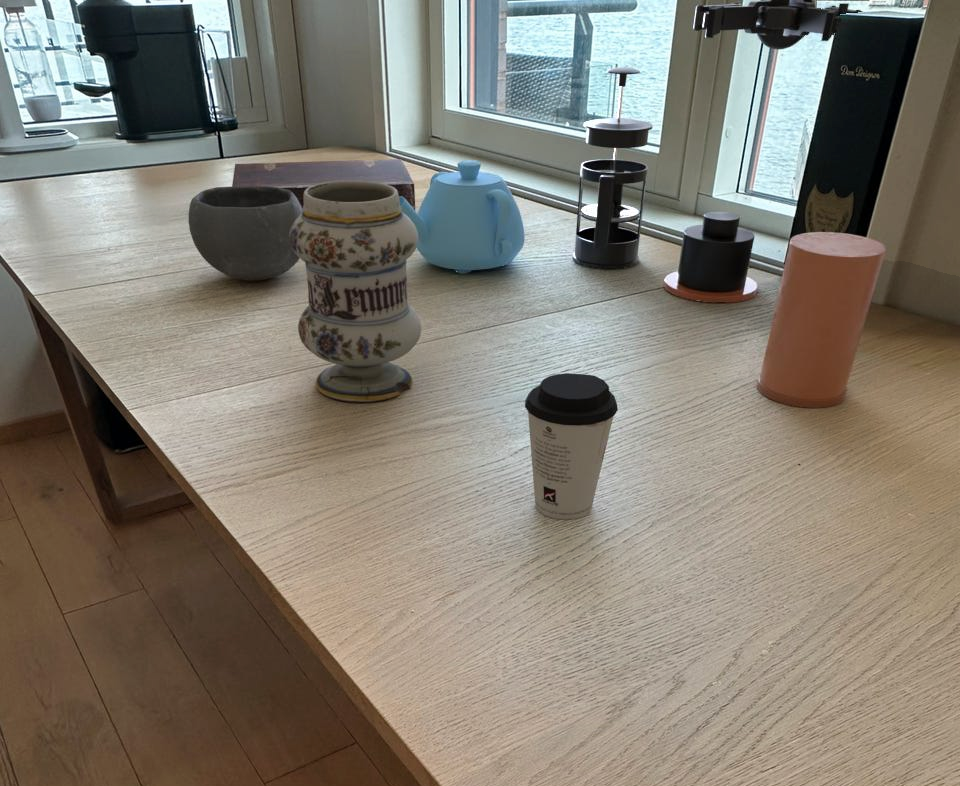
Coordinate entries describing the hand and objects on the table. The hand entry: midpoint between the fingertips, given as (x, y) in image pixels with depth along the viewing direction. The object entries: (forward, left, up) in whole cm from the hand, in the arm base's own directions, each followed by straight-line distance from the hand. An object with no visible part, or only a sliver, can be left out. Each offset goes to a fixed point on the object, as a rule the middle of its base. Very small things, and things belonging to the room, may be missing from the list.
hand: (767, 24), depth 102 cm
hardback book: (+69, -12, -28) cm, 76 cm away
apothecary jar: (+28, +54, -28) cm, 67 cm away
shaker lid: (+1, +9, -27) cm, 29 cm away
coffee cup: (+2, +70, -28) cm, 76 cm away
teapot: (+35, +12, -28) cm, 47 cm away
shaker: (-14, +39, -28) cm, 50 cm away
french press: (+16, +2, -28) cm, 33 cm away
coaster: (0, +9, -28) cm, 29 cm away
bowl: (+58, +27, -28) cm, 70 cm away
